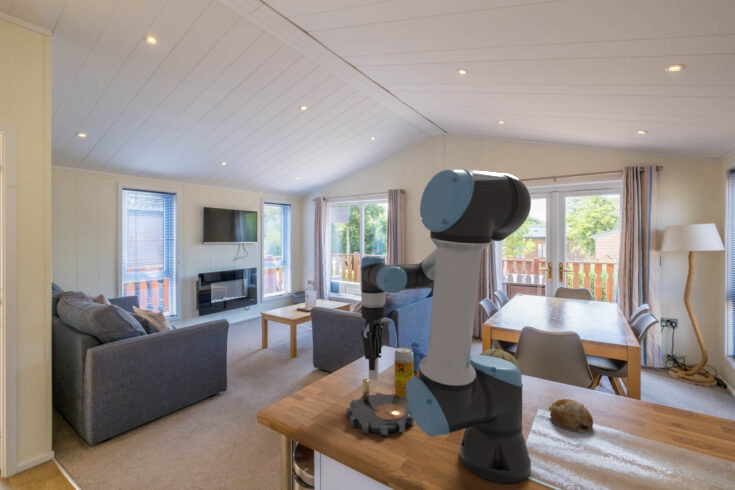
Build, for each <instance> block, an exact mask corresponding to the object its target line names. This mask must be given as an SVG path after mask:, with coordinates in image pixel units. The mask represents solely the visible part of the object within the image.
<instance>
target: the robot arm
mask: <svg viewBox="0 0 735 490" xmlns="http://www.w3.org/2000/svg"><path fill="white" fill-rule="evenodd" d="M419 205H420V206H419V214H420V217H421V222H422V224H423V226H424V227H425V228H426V230H428V231H429V232H430V233H429V239H430V240H431V241H432V242H433V244H434V245H435V246H436V249H434V251H432V252H431V253H430V254H428V256H427V257H426V258H424V259H423V260H422V261H421V262H419V263H408V264H386V259H385V257H384V256H382V255H381V256H377V255H376V256H375V255H367V256H362V258H361V261H360V262H361V263H360V283H361V285H360V286H361V290H360V291H361V293H360V297H361V311H360V312H361V315H360V316H361V317H362V319H364V320H365V323H364V324H365V325H364V327H365V329H364V330H361V333H360V334H361V337H362V342H363V344H362V345H363V350H364V351H363V352H364V359H365V360H368V379H369V380H373V381H377V380H379V359H381V358H382V355H381V354H382V348H383V347H382V346H383V335H384V327H385V322H382V320H383V319H384V318H385V317H386V306H385V304H386V293H387V294H399V293H401V292H402V291H406V290H407V291H408V290H409V291H410V290H419V289H433V291H432V299H431V300H432V301H431V311H430V312H431V314H430V324H429V326H430V327H429V335H428V348H427V355H426V356H427V357H425V358H423V359H422V360H421V362H420V363H419V364H420V365H419V370H418V376H415V375H414V377H412V378H411V379H410V380H408V382H407V386H406V394H407V401H408V405H409V408H410V411H411V413H412V416H413V418H414V420H415V422H414V423H416V425H417V426H418V427H419V429H420V430H421V431H422V432H423V433H424V434H425V435H427V436H430V437H438V436H447V435H449V434H451V433H454V432H458V431H462V430H464V433H463V436H462V438H461V442H460V450H459V451H460V459H461V462H462V463H463V465H464V466H465V467H466V469H468V470H469V471H470V472H471V473H473V474H475V475H476V476H478V477H479V478H482V479H484V480H487V481H490V482H494V483H499V484H515V483H516V484H517V483H520V482H521V481H524V480H526V479H527V478H528V477H529V476H530V474H531V472H532V459H531V454H530V452H529V449H528V447H527V443H526V440H525V436H524V433H523V387H524V385H523V381H522V380H523V379H522V377H523V375H522V376H521V372H522V370H521V371H520V369H519V368H518V367H517V366H516V365H515V364H513V363H511V362H509V361H506V360H503V359H500V358H496V357H491V356H484V355H480V354H475V355H472V354H471V352H472V343H473V336H474V333H473V332H474V325H475V314H476V308H477V297H478V288H479V278H480V270H481V259H482V252H483V251H484V249H486V248H487V247H488V246H490V245H491V244H492V243H494V242H502V241H503V240H505V239H507V238H509V236H511V235H512V234H514V233H515V232H516V231H517V230H519V229H520V227H522V225H523V224H524V223H525V222H526V220H527V219H528V217H529V215H530V211H531V205H532V199H531V194H530V191H529V190H528V187H527V186H526V185H525V183H524V182H522V180H521V179H519V177H516V176H514V175H513V174H509V173H504V172H491V171H490V172H489V171H481V170H472V169H464V168H459V169H458V168H457V169H444V170H441V171H439V172H437V173H436V174H434V175H433V176H432V177H431V179H430V181H429V182H427V184H426V186H425V188H424V189H423V192H422V195H421V199H420V203H419Z"/></svg>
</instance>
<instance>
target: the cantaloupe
mask: <svg viewBox="0 0 735 490" xmlns="http://www.w3.org/2000/svg"><path fill="white" fill-rule="evenodd" d="M479 355H484V356H491V357H496V358H500V359H503V360H506V361H509V362H511V363H513V364H515V365H516V366H517V367H518V368H519V369H520V371H521V376H522V377H523V375H522V368H521V366H520V364H519V362H518V360H517V359H516V358H515V356H514V355H512V354H511V353H509V352H507V351H504V350H503V349H502V348H501V347H500V346H498V345H497V346H496V349H495V348H489V349H486V350H484V351H482V352H481V353H479Z"/></svg>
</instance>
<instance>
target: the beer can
mask: <svg viewBox="0 0 735 490" xmlns="http://www.w3.org/2000/svg"><path fill="white" fill-rule="evenodd" d="M414 372H415V371H414V370H413V352H412V348H410V347H404V346H402V347H397V348H396V349H395V352H394V395H397V397H399V398H401V399H407V394H406V386H407V382H408V380H410V379H411V378H412V377H414V376H415V373H414Z"/></svg>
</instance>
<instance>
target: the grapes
mask: <svg viewBox="0 0 735 490" xmlns="http://www.w3.org/2000/svg"><path fill="white" fill-rule="evenodd" d="M410 346H411V349H412V352H413V371H414V372H419V365H420V362H421V360H422V359H423V358H425V357H427V356H428V355H427V354H426V353H424V352H421V349H420V348H419V347H420V343H419V342H418V341H417V340H415V341H413V342H412V343H411V344H410Z"/></svg>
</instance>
